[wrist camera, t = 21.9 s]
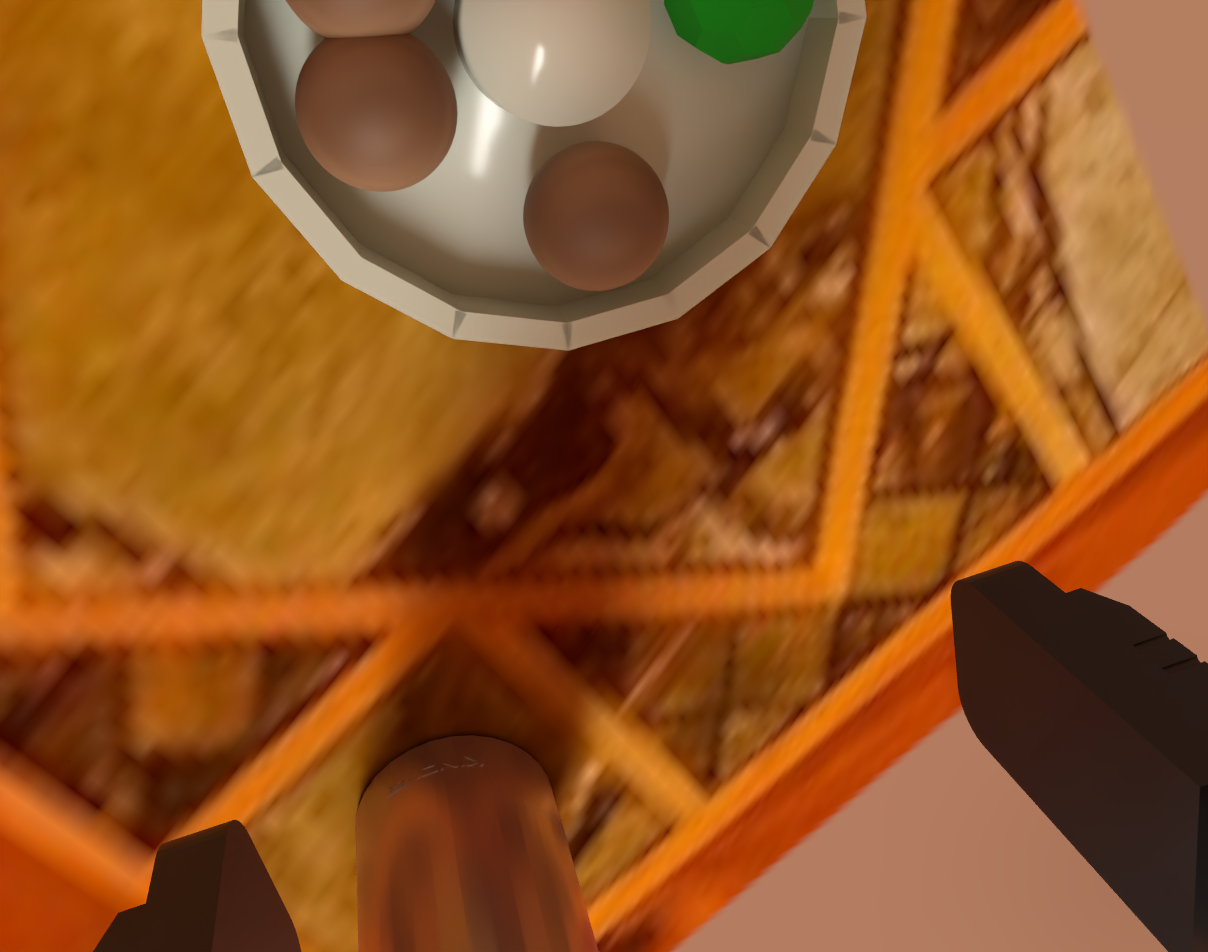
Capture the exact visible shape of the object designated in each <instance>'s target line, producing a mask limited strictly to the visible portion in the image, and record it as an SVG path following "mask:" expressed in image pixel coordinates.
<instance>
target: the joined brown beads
mask: <svg viewBox="0 0 1208 952" xmlns="http://www.w3.org/2000/svg"><path fill="white" fill-rule="evenodd" d="M435 1H436V0H286V2H287V3H288V5H289V6H290V8H291V9H292V10H293V12H294V13H295V14H296V15H297V16H298V17H299V19H300V20H301V21H302V22H303V23H305V24H306V25H307V26H308V27H309V28H310V29H312V30H313V31H314V32H316V33H317V34H319V35H320V36H322V37H324V38H325V39H324V40H322V41H321V42H320V43H319V44H318V45H317V46H316V47H315V48H314V49H313V51H312V52H311V53H310V54H309V56H308V58H307V59H306V61H305V63H304V64H303V67H302V69H301V71H300V74H299V77H298V81H297V85H296V92H295V112H296V119H297V123H298V126H299V130H300V132H301V135H302V137H303V140H304V142H305V144H306V145H307V147H308V149H309V151H310V152H311V154H312V155H313V156H314V158H315V159H316V160H317V161H318V162H319V164H320V165H321V166H322V167H323V168H324V169H325V170H327V171H328V172H329V173H330V174H331V175H333V176H334V177H336V178H337V179H339V180H340V181H342V182H344V183H346V184H348V185H350V186H353V187H356V188H359V189H363V190H368V191H375V192H389V191H396V190H401V189H404V188H407V187H410V186H412V185H414V184H416V183H418V182H420V181H422V180H423V179H425V178H426V177H428V176H429V175H430V174H431V173H432V172H433V171H434V170H435V169H436V168H437V167H438V166H439V165H440V164H441V162H442V161H443V160H444V158H445V156H446V155H447V153H448V151H449V149H450V147H451V145H452V142H453V139H454V136H455V132H456V126H457V114H458V112H457V100H456V96H455V91H454V88H453V85H452V82H451V79H450V77H449V75H448V73H447V71H446V69H445V67H444V66H443V64H442V63H441V61H440V60H439V58H438V57H437V56H436V55H435V53H434V52H433V51H432V50H431V49H430V48H429V47H428V46H427V45H426V44H425V43H423V42H422V41H420V40H419V39H418V38H416V37H415V36H413V35H411V34H410V33H412V32H413V31H414V30H415V29H416V28H417V27H418V26H420V24H421V23H422V22H423V21H424V19H425V18H426V17H427V15H428V14H429V12H430V11H431V9H432V7H433V5H434V3H435Z"/></svg>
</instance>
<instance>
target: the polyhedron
mask: <svg viewBox="0 0 1208 952" xmlns="http://www.w3.org/2000/svg"><path fill="white" fill-rule="evenodd" d="M813 2H814V0H664V5H665V8H666V10H667V12H668V15H669V17H670V19H671V22H672V24H673V26H674V29H675V31H676V33H677V35H678V36H679V37H681V38H682V39H683V40H685V41H686V42H688V43H689V44H691V45H692V46H694V47H695V48H697V49H698V50H700V51H702V52H704V53H705V54H707V55H709V56H711V57H712V58H714V59H716V60H718V61H719V62H721V63H724V64H733V63H739V62H744V61H749V60H754V59H758V58H762V57H765V56H768V55H771V54H775V53H778V52H780V51H781V50H782V49H783V48H784V47H785V46H786V45H787V44H788V42H789V41H790V40H791V39H792V38H793V37H794V36H795V35H796V34H797V33H798V32H799V30H800V29H801V28H802V27H803V25H804V23H805V21H806V20H807V18H808V16H809V14H810V12H811V10H812V7H813Z"/></svg>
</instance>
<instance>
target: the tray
mask: <svg viewBox="0 0 1208 952" xmlns="http://www.w3.org/2000/svg"><path fill="white" fill-rule="evenodd" d="M865 21H866V7H865V0H814V2H813V7H812V10H811V12H810V14H809V16H808V18H807V20H806V21H805V23H804V25H803V27H802V28H801V29H800V30H799V32H798V33H797V34H796V35H795V36H794V37H793V38H792V39H791V40H790V41H789V42H788V44H787V45H786V46H785V47H784V48H783V49H782V50H781V51H780V52H778V53H775V54H771V55H768V56H765V57H762V58H758V59H754V60H749V61H744V62H739V63H733V64H724V63H721V62H719V61H718V60H716V59H714V58H712V57H711V56H709V55H707V54H705V53H704V52H702V51H700V50H698V49H697V48H695V47H694V46H692V45H691V44H689V43H688V42H686V41H685V40H683V39H682V38H681V37H679V36H678V35H677V33H676V31H675V29H674V26H673V24H672V22H671V19H670V17H669V15H668V12H667V10H666V8H665V5H664V0H436V1H435V3H434V5H433V7H432V9H431V11H430V12H429V14H428V15H427V17H426V18H425V19H424V21H423V22H422V23H421V24H420V26H418V27H417V28H416V29H415V30H414V31H413V32H412V33H410V34H411V35H413V36H415V37H416V38H418V39H419V40H420V41H422V42H423V43H425V44H426V45H427V46H428V47H429V48H430V49H431V50H432V51H433V52H434V53H435V55H436V56H437V57H438V58H439V60H440V61H441V63H442V64H443V66H444V67H445V69H446V71H447V73H448V75H449V77H450V79H451V82H452V85H453V88H454V91H455V96H456V100H457V112H458V114H457V126H456V132H455V136H454V139H453V142H452V145H451V147H450V149H449V151H448V153H447V155H446V156H445V158H444V160H443V161H442V162H441V164H440V165H439V166H438V167H437V168H436V169H435V170H434V171H433V172H432V173H431V174H430V175H429V176H428V177H426V178H425V179H423V180H422V181H420V182H418V183H416V184H414V185H412V186H410V187H407V188H404V189H401V190H396V191H389V192H375V191H368V190H363V189H359V188H356V187H353V186H350V185H348V184H346V183H344V182H342V181H340V180H339V179H337V178H336V177H334V176H333V175H331V174H330V173H329V172H328V171H327V170H325V169H324V168H323V167H322V166H321V165H320V164H319V162H318V161H317V160H316V159H315V158H314V156H313V155H312V154H311V152H310V151H309V149H308V147H307V145H306V144H305V142H304V140H303V137H302V135H301V132H300V130H299V126H298V123H297V119H296V112H295V92H296V85H297V81H298V77H299V74H300V71H301V69H302V67H303V64H304V63H305V61H306V59H307V58H308V56H309V54H310V53H311V52H312V51H313V49H314V48H315V47H316V46H317V45H318V44H319V43H320V42H321V41H322V40H324V39H325V38H324V37H322V36H320V35H319V34H317V33H316V32H314V31H313V30H312V29H310V28H309V27H308V26H307V25H306V24H305V23H303V22H302V21H301V20H300V19H299V17H298V16H297V15H296V14H295V13H294V12H293V10H292V9H291V8H290V6H289V5H288V3H287V2H286V0H202V39H203V42H204V44H205V47H206V50H207V53H208V56H209V58H210V61H211V64H212V67H213V69H214V72H215V75H216V78H217V80H218V83H219V86H220V89H221V92H222V94H223V97H224V100H225V103H226V105H227V108H228V111H229V114H230V117H231V119H232V122H233V125H234V128H235V130H236V133H237V136H238V139H239V141H240V144H241V147H242V150H243V153H244V155H245V158H246V161H247V164H248V166H249V169H250V172H251V175H252V177H253V178H254V179H255V181H256V182H257V183H258V184H259V185H260V186H261V188H262V189H263V190H264V191H265V192H266V193H267V195H268V196H269V197H270V198H271V199H272V200H273V201H274V203H275V204H276V205H277V206H278V207H279V208H280V210H281V211H282V212H283V213H284V214H285V215H286V217H287V218H288V219H289V220H290V221H291V222H292V223H293V225H294V226H295V227H296V228H297V229H298V230H299V232H300V233H301V234H302V235H303V236H304V237H305V239H306V240H307V241H308V242H309V243H310V244H311V245H312V247H313V248H314V249H315V250H316V251H317V252H318V254H319V255H320V256H321V257H322V258H323V259H324V261H325V262H326V263H327V264H328V265H329V266H330V267H331V269H332V270H333V271H334V272H335V273H336V274H337V276H338V277H339V278H340V279H341V280H342V281H344V282H345V283H347V284H349V285H351V286H353V287H355V288H357V289H359V290H361V291H363V292H364V293H366V294H368V295H370V296H372V297H374V298H376V299H378V300H380V301H382V302H383V303H385V304H387V305H389V306H391V307H393V308H395V309H397V310H399V311H401V312H402V313H404V314H406V315H408V316H410V317H412V318H414V319H416V320H418V321H419V322H421V323H423V324H425V325H427V326H429V327H431V328H433V329H435V330H437V331H438V332H440V333H442V334H444V335H446V336H448V337H450V338H452V339H459V340H469V341H479V342H489V343H498V344H508V345H518V346H528V347H538V348H548V349H558V350H567V351H569V350H572V349H576V348H579V347H583V346H586V345H590V344H593V343H596V342H600V341H603V340H607V339H610V338H614V337H617V336H620V335H624V334H627V333H631V332H634V331H638V330H641V329H645V328H648V327H651V326H655V325H658V324H662V323H665V322H669V321H672V320H675V319H678V318H680V317H681V316H682V315H684V314H685V313H686V312H687V311H689V310H690V309H691V308H693V307H694V306H695V305H697V304H698V303H699V302H701V301H702V300H703V299H704V298H706V297H707V296H708V295H710V294H711V293H712V292H714V291H715V290H716V289H717V288H719V287H720V286H721V285H723V284H724V283H725V282H727V281H728V280H729V279H731V278H732V277H733V276H734V275H736V274H737V273H738V272H740V271H741V270H742V269H744V268H745V267H746V266H748V265H749V264H750V263H751V262H753V261H754V260H755V259H757V258H758V257H759V256H761V255H762V254H763V253H764V252H766V251H767V250H768V249H770V248H771V246H772V245H773V243H774V241H775V240H776V238H777V237H778V235H779V234H780V232H781V230H782V229H783V227H784V226H785V224H786V223H787V221H788V219H789V218H790V216H791V215H792V213H793V212H794V210H795V208H796V207H797V205H798V204H799V202H800V201H801V199H802V197H803V196H804V194H805V193H806V191H807V190H808V188H809V186H810V185H811V183H812V182H813V180H814V179H815V177H816V175H817V174H818V172H819V171H820V169H821V168H822V166H823V164H824V163H825V161H826V160H827V158H828V157H829V155H830V153H831V152H832V150H833V149H834V147H835V146H836V143H837V139H838V135H839V131H840V126H841V122H842V118H843V114H844V110H845V105H846V101H847V97H848V93H849V89H850V84H851V80H852V76H853V72H854V68H855V63H856V59H857V55H858V51H859V47H860V42H861V38H862V34H863V30H864V26H865ZM586 141H604V142H610V143H614V144H618V145H621V146H623V147H626V148H628V149H630V150H631V151H633V152H635V153H636V154H638V155H639V156H640V157H642V158H643V159H644V160H645V161H646V162H647V163H648V164H649V165H650V166H651V167H652V169H653V170H654V171H655V173H656V174H657V176H658V177H659V179H660V181H661V183H662V186H663V188H664V191H665V194H666V197H667V201H668V208H669V224H668V231H667V235H666V239H665V242H664V244H663V247H662V249H661V251H660V253H659V255H658V256H657V258H656V259H655V261H654V262H653V264H652V265H651V266H650V267H649V268H648V269H647V270H646V271H645V272H644V273H643V274H642V275H640V276H639V277H638V278H636V279H635V280H633V281H632V282H630V283H628V284H626V285H624V286H621V287H618V288H616V289H611V290H606V291H587V290H582V289H577V288H574V287H571V286H568V285H566V284H564V283H562V282H560V281H559V280H557V279H556V278H554V277H553V276H552V275H551V274H549V273H548V272H547V271H546V270H545V269H544V268H543V267H542V266H541V264H540V263H539V262H538V261H537V259H536V258H535V256H534V255H533V253H532V251H531V249H530V246H529V244H528V241H527V238H526V235H525V230H524V224H523V209H524V202H525V197H526V194H527V191H528V188H529V185H530V183H531V181H532V179H533V177H534V176H535V174H536V173H537V171H538V170H539V169H540V168H541V166H542V165H543V164H544V163H545V162H546V161H547V160H548V159H549V158H550V157H552V156H553V155H554V154H556V153H557V152H559V151H560V150H562V149H564V148H566V147H568V146H571V145H574V144H577V143H581V142H586Z"/></svg>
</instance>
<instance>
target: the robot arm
mask: <svg viewBox="0 0 1208 952" xmlns="http://www.w3.org/2000/svg"><path fill="white" fill-rule="evenodd" d="M951 609H952V621H953V633H954V645H955V657H956V669H957V681H958V690H959V696H960V700H961V704H962V707H963V710H964V713H965V715H966V717H967V720H968V722H969V724H970V726H971V728H972V730H973V731H974V733H975V734H976V736H977V738H978V739H979V740H980V742H981V743H982V744H983V745H984V747H985V748H986V749H987V750H988V751H989V752H990V753H991V755H993V757H994V758H995V759H996V760H997V761H998V762H999V763H1000V764H1001V766H1002V767H1003V768H1004V769H1005V770H1006V771H1007V772H1008V773H1009V775H1010V776H1011V777H1012V778H1013V779H1014V780H1015V781H1016V782H1017V784H1018V785H1019V786H1020V787H1021V788H1022V789H1023V790H1024V791H1025V792H1026V793H1027V795H1029V797H1030V798H1031V799H1032V800H1033V801H1034V802H1035V804H1036V805H1038V807H1039V808H1040V809H1041V810H1042V811H1043V812H1044V814H1045V815H1046V816H1047V817H1048V818H1049V819H1050V820H1051V821H1052V823H1053V824H1054V825H1055V826H1056V827H1057V828H1058V829H1059V830H1060V831H1061V833H1062V834H1063V835H1064V836H1065V837H1066V838H1067V839H1068V840H1069V841H1070V842H1071V844H1072V845H1073V846H1074V847H1075V848H1076V849H1077V850H1078V852H1079V853H1080V854H1081V855H1082V856H1083V857H1084V858H1085V859H1086V860H1087V862H1088V863H1089V864H1090V865H1091V866H1092V867H1093V868H1094V869H1095V870H1096V872H1097V873H1098V874H1099V875H1100V876H1101V877H1102V878H1103V879H1104V880H1105V882H1106V883H1107V884H1108V885H1109V886H1110V887H1111V888H1112V889H1113V891H1114V892H1115V893H1116V894H1117V895H1118V896H1119V897H1120V898H1121V899H1122V901H1123V902H1124V903H1125V904H1126V905H1127V906H1128V907H1129V908H1130V909H1131V910H1132V912H1133V913H1134V914H1135V915H1136V916H1137V917H1138V918H1139V919H1140V921H1141V922H1142V923H1143V924H1144V925H1145V926H1146V927H1147V928H1148V929H1149V931H1150V932H1151V933H1152V934H1153V935H1154V936H1155V937H1156V938H1157V940H1158V941H1159V942H1160V943H1161V944H1162V945H1163V946H1164V947H1165V948H1166V950H1167V951H1168V952H1208V663H1206V662H1205V661H1204V662H1202V663H1200V662H1199V660H1198V658H1197V655H1196V654H1194V653H1193V652H1191V651H1190V650H1189V649H1187V648H1186V647H1184V646H1183V645H1182V644H1181V643H1179V642H1178V641H1177V640H1175V639H1171V640H1169V638H1168V637H1167V634H1166V632H1164V631H1163V630H1162V629H1160V628H1159V627H1157V626H1156V625H1155V624H1153V623H1152V622H1151V621H1149V620H1148V619H1146V618H1145V617H1144V616H1142V615H1141V614H1140V613H1138V612H1137V611H1136V610H1134V609H1133V608H1132V607H1130V606H1128V605H1126V604H1123V603H1120V602H1117V601H1114V600H1112V599H1109V598H1106V597H1104V596H1101V595H1098V594H1096V593H1093V592H1090V591H1087V590H1085V589H1082V588H1080V589H1077V590H1074V591H1071V592H1068V593H1065V592H1064V591H1062V590H1061V589H1060V588H1058V587H1057V586H1056V585H1055V584H1053V583H1052V582H1051V581H1049V580H1048V579H1047V578H1046V577H1044V576H1043V575H1042V574H1041V573H1039V572H1038V571H1037V570H1035V569H1034V568H1033V567H1032V566H1030V565H1029V564H1027V563H1025V562H1022V561H1015V562H1012V563H1009V564H1006V565H1003V566H1000V567H997V568H994V569H991V570H988V571H985V572H982V573H979V574H976V575H973V576H970V577H967V578H964V579H961V580H958V581H956V582H955V583H954V585H953V586H952V590H951ZM355 833H356V868H357V916H358V949H359V952H598V948H597V945H596V941H595V938H594V934H593V931H592V927H591V924H590V920H589V917H588V913H587V910H586V906H585V903H584V899H583V896H582V892H581V889H580V885H579V882H578V878H577V875H576V871H575V868H574V864H573V861H572V857H571V854H570V850H569V846H568V842H567V839H566V835H565V832H564V828H563V825H562V822H561V818H560V815H559V812H558V808H557V805H556V801H555V798H554V795H553V791H552V788H551V785H550V781H549V778H548V776H547V775H546V773H545V772H544V770H543V769H542V767H541V765H540V764H539V763H538V762H537V761H536V760H535V759H534V758H533V757H531V756H530V755H529V754H528V753H527V752H525V751H524V750H522V749H520V748H518V747H517V746H515V745H513V744H511V743H508V742H505V741H502V740H499V739H495V738H492V737H483V736H474V735H467V736H452V737H447V738H442V739H438V740H434V741H430V742H427V743H425V744H422V745H420V746H418V747H415V748H413V749H411V750H408V751H407V752H405V753H404V754H402V755H401V756H399V757H398V758H396V759H395V760H393V761H391V762H390V763H389V764H388V765H387V766H386V767H385V768H384V769H383V770H382V771H381V772H380V773H379V774H377V775H376V776H375V778H374V779H373V781H372V782H371V784H370V785H369V786H368V788H367V789H366V791H365V792H364V794H363V797H362V799H361V802H360V805H359V807H358V810H357V817H356V825H355ZM93 952H301V949H300V944H299V940H298V937H297V933H296V930H295V927H294V925H293V922H292V920H291V918H290V916H289V914H288V912H287V910H286V908H285V906H284V904H283V902H282V900H281V898H280V896H279V894H278V892H277V890H276V888H275V886H274V884H273V882H272V880H271V878H270V876H269V874H268V872H267V870H266V868H265V866H264V864H263V862H262V860H261V858H260V856H259V854H258V852H257V850H256V848H255V846H254V844H253V842H252V840H251V838H250V836H249V834H248V832H247V830H246V829H245V827H244V826H243V825H242V824H241V823H240V822H239V821H237V820H232V821H229V822H226V823H223V824H220V825H217V826H214V827H211V828H208V829H205V830H202V831H199V832H196V833H193V834H190V835H187V836H184V837H181V838H178V839H175V840H172V841H169V842H166V843H164V844H162V845H161V846H160V847H159V849H158V852H157V855H156V858H155V863H154V868H153V873H152V877H151V882H150V887H149V892H148V896H147V901H146V904H143V905H140V906H137V907H134V908H131V909H128V910H125V911H123V912H120V913H118V914H117V916H116V917H115V919H114V920H113V922H112V923H111V925H110V927H109V928H108V930H107V931H106V933H105V934H104V936H103V937H102V939H101V940H100V942H99V943H98V945H97V947H96V948H95V950H94V951H93Z"/></svg>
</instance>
